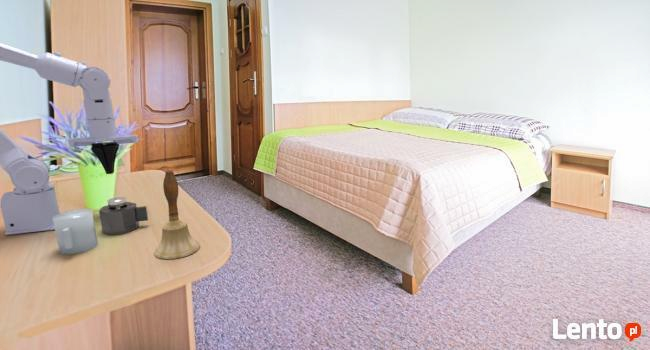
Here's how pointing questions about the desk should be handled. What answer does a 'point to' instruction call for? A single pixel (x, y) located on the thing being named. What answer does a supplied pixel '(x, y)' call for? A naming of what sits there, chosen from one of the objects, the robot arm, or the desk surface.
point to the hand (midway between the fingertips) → (110, 173)
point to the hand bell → (174, 226)
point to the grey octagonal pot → (122, 218)
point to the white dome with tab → (75, 231)
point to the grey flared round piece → (117, 202)
